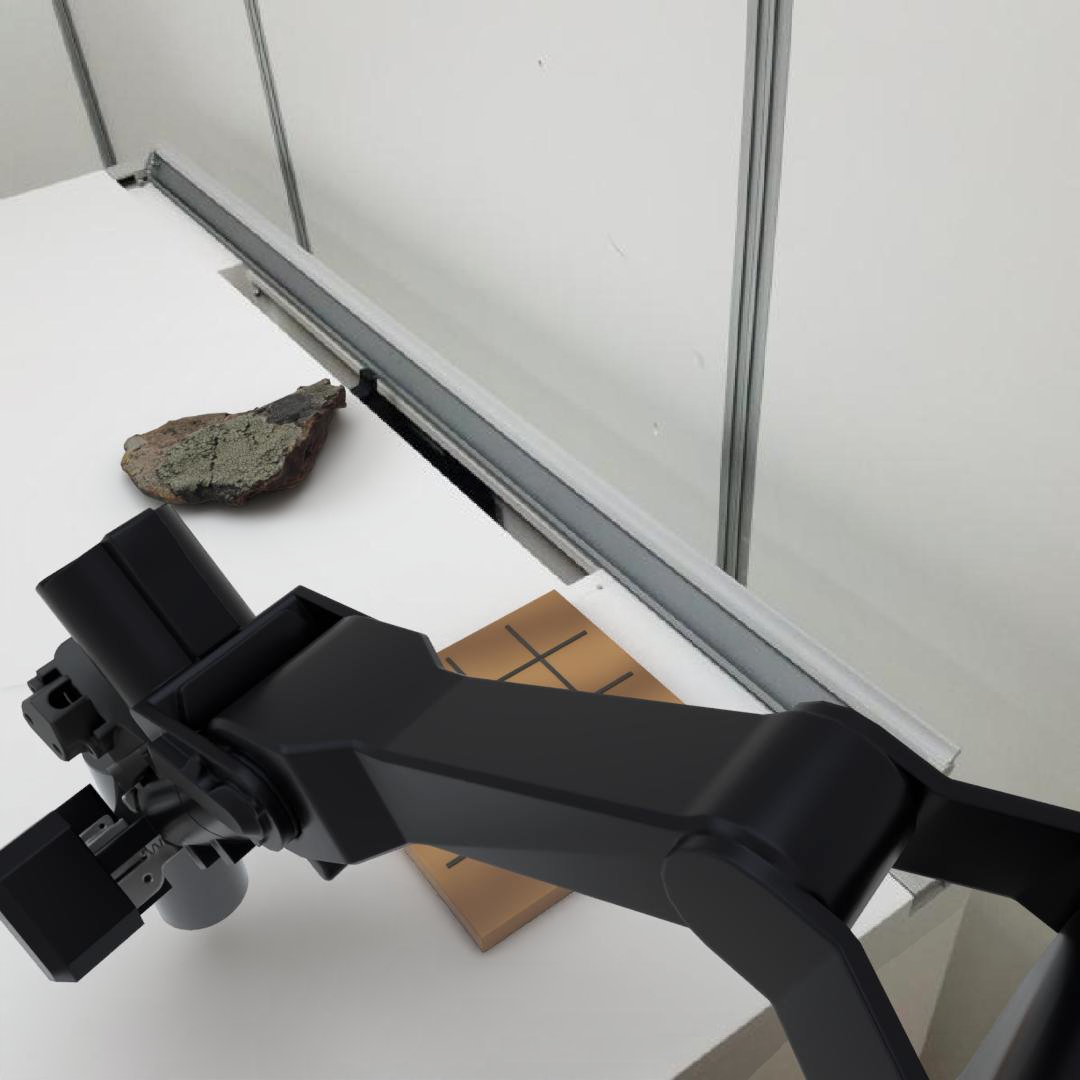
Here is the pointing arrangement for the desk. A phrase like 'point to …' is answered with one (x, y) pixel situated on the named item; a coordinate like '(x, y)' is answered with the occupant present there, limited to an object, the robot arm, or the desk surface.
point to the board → (545, 660)
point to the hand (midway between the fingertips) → (154, 801)
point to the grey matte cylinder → (180, 868)
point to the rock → (234, 449)
